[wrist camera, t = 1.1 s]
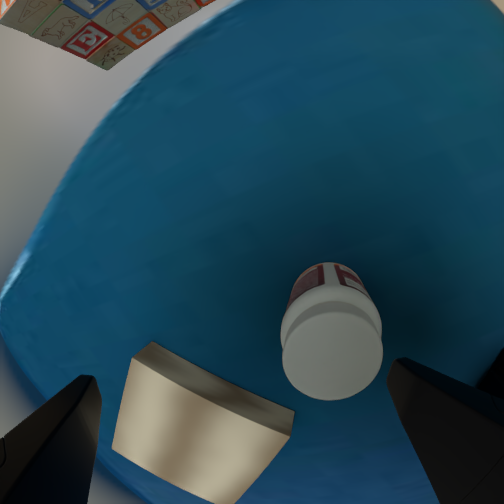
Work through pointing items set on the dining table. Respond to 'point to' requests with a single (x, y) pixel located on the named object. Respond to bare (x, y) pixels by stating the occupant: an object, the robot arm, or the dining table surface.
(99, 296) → the dining table surface
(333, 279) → the pill bottle
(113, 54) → the stack of blocks
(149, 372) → the birch block
